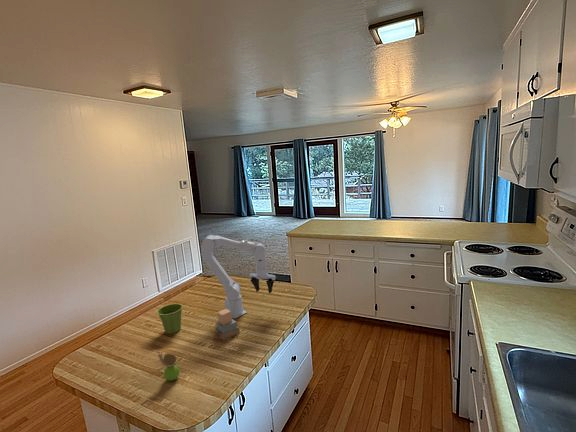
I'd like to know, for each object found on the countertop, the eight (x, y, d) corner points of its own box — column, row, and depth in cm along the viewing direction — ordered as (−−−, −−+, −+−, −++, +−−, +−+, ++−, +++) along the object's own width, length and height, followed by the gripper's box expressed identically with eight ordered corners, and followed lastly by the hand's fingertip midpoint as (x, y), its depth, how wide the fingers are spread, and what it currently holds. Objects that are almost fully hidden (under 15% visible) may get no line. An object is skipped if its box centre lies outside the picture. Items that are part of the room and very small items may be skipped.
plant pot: (190, 328, 150) (187, 307, 148) (167, 339, 141) (163, 317, 139) (178, 321, 158) (175, 301, 156) (156, 332, 149) (152, 310, 148)
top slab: (216, 328, 142) (215, 322, 142) (230, 322, 146) (229, 316, 146) (223, 334, 137) (222, 327, 136) (237, 327, 141) (236, 321, 140)
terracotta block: (218, 322, 142) (217, 312, 141) (227, 318, 145) (225, 308, 144) (223, 325, 138) (222, 315, 138) (232, 321, 141) (230, 311, 140)
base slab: (215, 335, 142) (214, 329, 142) (230, 327, 148) (229, 322, 147) (224, 341, 137) (224, 334, 136) (239, 333, 142) (238, 327, 141)
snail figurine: (164, 375, 116) (159, 346, 114) (181, 373, 116) (177, 344, 114) (160, 385, 111) (154, 355, 109) (178, 383, 111) (173, 353, 109)
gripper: (245, 268, 157) (248, 293, 159) (269, 270, 151) (272, 296, 153) (252, 264, 163) (255, 288, 166) (276, 265, 157) (278, 290, 159)
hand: (264, 291), depth 160 cm, fingers open, 7 cm apart
